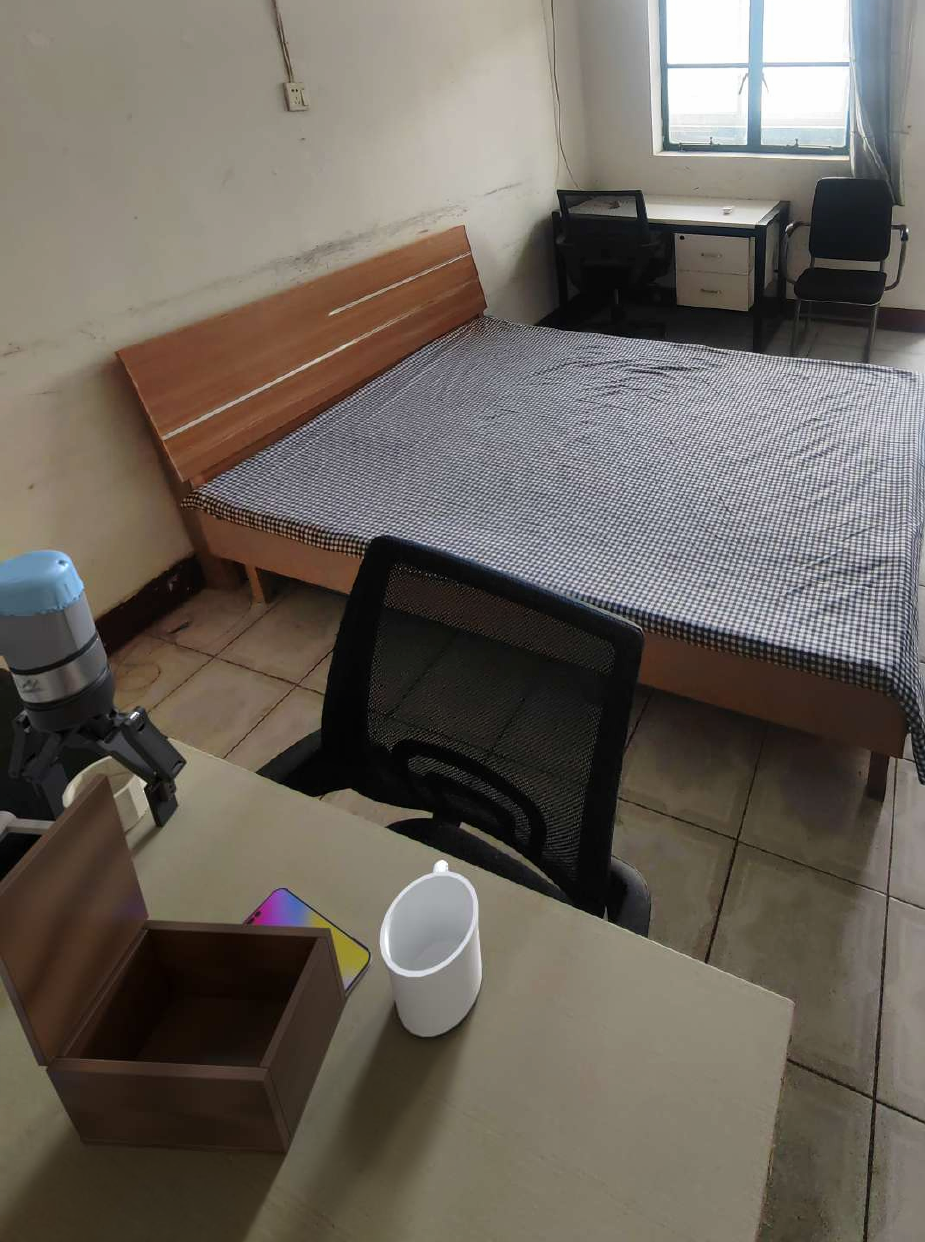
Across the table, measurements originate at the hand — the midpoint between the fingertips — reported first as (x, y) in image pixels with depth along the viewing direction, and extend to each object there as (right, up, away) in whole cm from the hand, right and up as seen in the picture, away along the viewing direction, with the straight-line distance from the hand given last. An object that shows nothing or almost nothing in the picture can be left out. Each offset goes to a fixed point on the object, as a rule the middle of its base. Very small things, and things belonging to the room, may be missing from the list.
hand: (115, 814), depth 84 cm
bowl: (0, 0, 0) cm, 0 cm away
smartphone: (+30, -6, -13) cm, 33 cm away
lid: (+20, +11, -28) cm, 36 cm away
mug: (+46, -6, -15) cm, 48 cm away
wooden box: (+28, -8, -21) cm, 36 cm away
